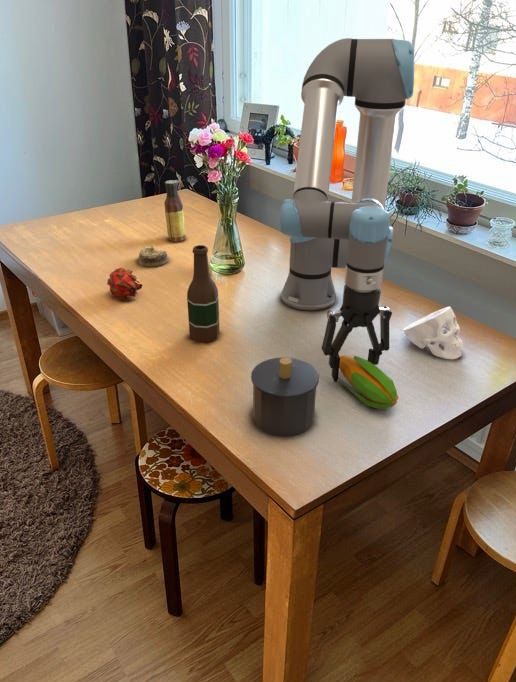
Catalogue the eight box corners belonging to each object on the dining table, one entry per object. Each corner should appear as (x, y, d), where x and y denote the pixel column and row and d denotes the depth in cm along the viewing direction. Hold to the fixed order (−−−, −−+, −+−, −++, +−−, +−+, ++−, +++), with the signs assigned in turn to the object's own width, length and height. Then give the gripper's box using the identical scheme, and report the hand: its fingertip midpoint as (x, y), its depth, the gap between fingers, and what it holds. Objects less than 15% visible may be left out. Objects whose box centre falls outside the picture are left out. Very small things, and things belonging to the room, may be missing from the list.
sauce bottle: (189, 238, 206) (185, 180, 195) (178, 244, 202) (174, 185, 190) (175, 234, 209) (170, 177, 198) (163, 240, 205) (158, 182, 193)
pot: (249, 401, 128) (249, 363, 122) (306, 397, 129) (308, 359, 124) (258, 439, 118) (258, 399, 112) (319, 433, 119) (322, 393, 113)
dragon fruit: (117, 291, 175) (137, 311, 169) (94, 283, 168) (114, 303, 162) (131, 267, 173) (152, 286, 167) (109, 257, 166) (130, 277, 160)
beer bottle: (225, 333, 152) (223, 244, 138) (208, 346, 147) (204, 256, 133) (201, 325, 155) (196, 238, 142) (183, 338, 150) (176, 249, 136)
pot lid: (247, 364, 123) (246, 345, 120) (310, 359, 124) (311, 340, 122) (256, 403, 112) (256, 383, 109) (325, 397, 113) (327, 377, 111)
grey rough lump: (156, 271, 185) (153, 255, 181) (132, 264, 189) (128, 249, 186) (175, 258, 191) (173, 242, 188) (151, 252, 195) (149, 237, 192)
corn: (382, 391, 118) (325, 345, 132) (376, 421, 122) (321, 374, 136) (410, 382, 121) (351, 339, 135) (402, 412, 125) (346, 367, 140)
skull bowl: (456, 364, 138) (439, 315, 135) (408, 370, 149) (392, 326, 147) (478, 347, 144) (462, 300, 142) (430, 355, 155) (415, 312, 153)
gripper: (318, 296, 116) (312, 390, 129) (416, 290, 118) (400, 383, 132) (310, 280, 122) (304, 371, 135) (403, 274, 124) (389, 364, 138)
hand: (351, 377), depth 133 cm, fingers closed on corn, 7 cm apart
